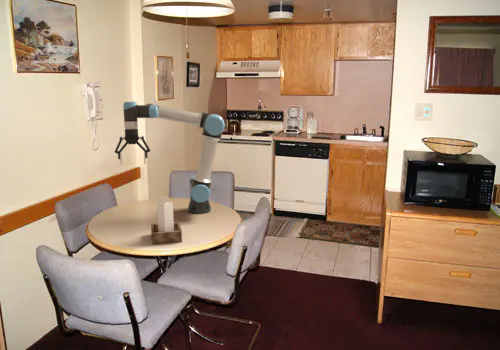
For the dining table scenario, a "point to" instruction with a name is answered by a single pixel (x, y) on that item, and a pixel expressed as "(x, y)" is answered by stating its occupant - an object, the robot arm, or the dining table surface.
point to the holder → (166, 234)
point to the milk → (165, 215)
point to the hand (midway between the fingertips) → (133, 164)
